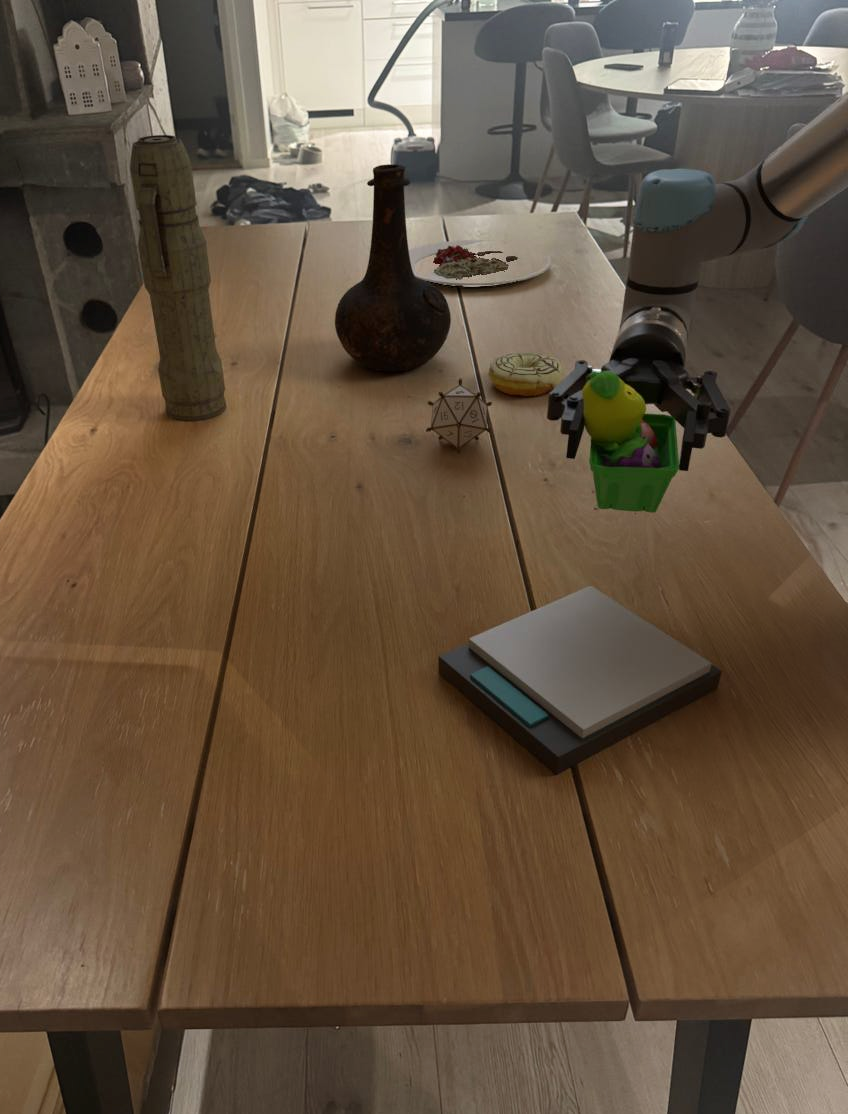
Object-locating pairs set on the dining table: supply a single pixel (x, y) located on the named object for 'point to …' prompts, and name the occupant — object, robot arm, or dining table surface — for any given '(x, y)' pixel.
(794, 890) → the dining table surface
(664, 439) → the fruit basket
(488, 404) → the game die
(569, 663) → the kitchen scale
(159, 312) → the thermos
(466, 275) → the plated food
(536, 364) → the decorated donut
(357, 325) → the glass bottle
